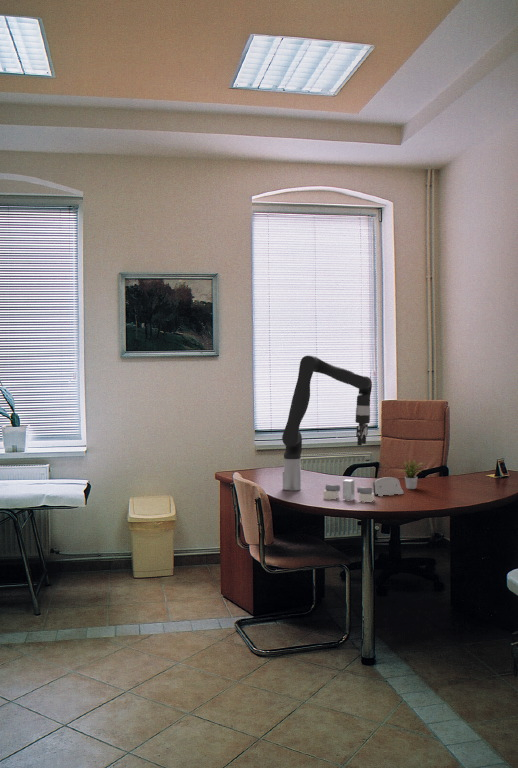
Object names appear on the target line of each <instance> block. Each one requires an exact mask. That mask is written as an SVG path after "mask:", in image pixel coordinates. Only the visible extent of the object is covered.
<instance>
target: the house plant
mask: <svg viewBox="0 0 518 768" xmlns="http://www.w3.org/2000/svg"><path fill="white" fill-rule="evenodd" d="M408 459H409V460H408V463H409V464H408V463H407V462H406V461H405V460H403V462H404V464H403V462H400V463H401V465H402V466H403V467H404V468H405V469H406V470H404V469H400V470H399V471H400V472H405V473H406V476H404V480H405V481H404V483H405V487H406V489H407V490H415V489H417V485H418V484H417V483H418V478H419V477H418V476H416V475H417V474H418V473H421V474H422V473H423V472H422V471H421V468H420V467H421V466H422V465H423V464H425V462H424V461H423V462H419V463H418V464H417V465H416V462H417V461H416V459H414V460H413V462H411V459H410V458H408ZM418 468H419V469H418Z"/></svg>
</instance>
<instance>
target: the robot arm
mask: <svg viewBox="0 0 518 768" xmlns="http://www.w3.org/2000/svg"><path fill="white" fill-rule="evenodd" d="M314 373H317V374H318V373H319V374H322V375H326V376H327V377H330V378H332V379H334V380H336V381H338V382H341V383H343V384H346V385H349V386H352V387H353V388H355V389H358V394H357V396H356V407H355V419H354V421H355V423H356V424H358V425H357V426H356V437H355V438H357V446H362V445H366V444H367V436H368V431H369V429H368V427H369V424H370V423H371V394H372V387H373V382H372V379H371V378H370V376H365V375H364V376H363V375H360V374H358V373H355V372H353V371H351V370H349V369H346V368H343V367H339V366H336V365H333V364H330V363H328V362H326V361H324V360H321V359H320V358H318V357H317V356H315V355H311V354H310V355H309V354H307V355H304V356H303V357H302V358H301V359H300V362H299V368H298V375H297V379H296V380H297V381H296V384H295V387H294V391H293V394H292V395H293V396H292V398H291V403H290V408H289V412H288V418H287V421H286V424H285V427H284V429H283V433H282V436H281V439H282V443H283V444H284V446H285V450H284V453H283V471H282V490H285V491H292V492H293V491H300V490H301V487H302V484H301V482H302V481H301V479H302V477H301V476H302V474H301V473H302V472H301V469H302V468H301V465H302V464H301V463H302V461H301V459H302V458H301V456H302V452H303V451H302V448H303V447H302V446H303V437H302V433H301V432H300V425H301V423H302V420H303V419H304V417H305V414H306V412H307V410H308V407H309V403H310V398H311V381H312V378H313V374H314Z"/></svg>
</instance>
